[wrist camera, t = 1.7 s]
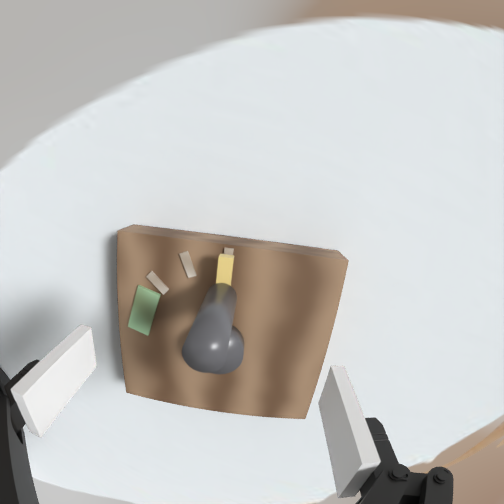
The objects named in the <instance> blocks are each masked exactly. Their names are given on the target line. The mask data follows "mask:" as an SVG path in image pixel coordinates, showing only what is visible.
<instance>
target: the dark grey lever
mask: <svg viewBox="0 0 504 504" xmlns="http://www.w3.org/2000/svg"><path fill="white" fill-rule="evenodd" d="M233 263H234V255H227V254H220V255H219V258H218V268H217V278H216V284H214V285H212V286H211V287H210V288H209V290H208V292H207V294H206V296H205V298H204V300H203V303H202V305H201V307H200V309H199V311H198V314H197V316H196V318H195V320H194V322H193V325H192V327H191V329H190V331H189V334H188V336H187V338H186V340H185V343H184V345H183V347H182V356H183V359H184V361H185V362H186V364H187V365H188V366H189V367H191V368H192V369H194V370H196V371H199V372H202V373H213V374H226V373H230V372H232V371H234V370H235V369H237V368H238V367H239V366H240V364H241V363H242V360H243V355H244V338H243V336H242V334H241V332H240V331H239V330H238V329H237V328H236V327H235V326H233V325H232V324H233V319H234V313H235V308H236V303H237V294H236V291H235V290H234V288H233V287H231V280H232V271H233Z"/></svg>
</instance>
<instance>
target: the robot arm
mask: <svg viewBox="0 0 504 504" xmlns="http://www.w3.org/2000/svg"><path fill="white" fill-rule="evenodd" d="M96 367H97V363H96V357H95V350H94V343H93V336H92V328H91V327H88V326H85V325H79V326H78V327H77V328H76V329H75V330H74V331H73V332H71V333H70V334H69V335H68V336H67V337H66V338H65V339H64V340H62V341H61V342H60V343H59V344H58V345H57V346H56V347H55V348H54V349H53V350H51V351H50V352H49V353H48V354H47V355H46V356H45V357H44V358H43V359H42V360H41V361H39V360H35V361H32V362H30V363H28V364H27V365H26V366H25V367H24V368H23V370H21V371H20V372H19V373H18V374H16V375H15V376H14V377H13V378H12V379H11V380H9V378H8V377H7V376H6V374H5V373H4V372H3V371H2V370H1V368H0V504H39V502H38V498H37V495H36V491H35V487H34V483H33V479H32V474H31V470H30V465H29V459H28V454H27V448H26V442H25V434H24V431H23V426H24V425H25V424H26V426H27V428H28V430H29V432H31V433H33V434H34V435H36V436H38V437H40V438H42V437H43V435H44V434H45V433H46V431H47V430H48V429H49V427H50V426H51V425H52V423H53V422H54V421H55V419H56V418H57V417H58V415H59V414H60V413H61V411H62V410H63V409H64V408H65V406H66V405H67V404H68V402H69V401H70V400H71V399H72V397H73V396H74V395H75V393H76V392H77V391H78V390H79V388H80V387H81V386H82V385H83V383H84V382H85V381H86V380H87V378H88V377H89V376H90V375H91V373H92V372H93V371H94V370H95V368H96ZM318 404H319V408H320V413H321V417H322V422H323V427H324V431H325V436H326V441H327V446H328V450H329V455H330V460H331V465H332V470H333V475H334V480H335V485H336V490H337V495H338V498H343V497H353V496H355V495H356V494H357V493H358V492H359V490H360V492H361V496H362V497H361V498H360V499H359V500H358V502H357V503H356V504H452V501H453V475H452V473H451V472H450V471H449V470H447V469H446V468H444V467H435V468H432V469H431V470H430V471H429V472H428V474H425V473H413V472H410V470H409V469H408V468H407V467H406V466H404V465H402V464H399V463H398V461H397V458H396V456H395V453H394V451H393V449H392V446H391V444H390V441H389V440H388V437H387V434H386V432H385V429H384V427H383V425H382V424H381V423H380V422H379V421H378V420H377V419H376V418H365V417H364V415H363V412H362V409H361V407H360V404H359V402H358V399H357V396H356V394H355V391H354V389H353V386H352V384H351V381H350V379H349V376H348V374H347V371H346V369H345V366H331V367H330V370H329V373H328V376H327V380H326V383H325V386H324V389H323V392H322V394H321V397H320V400H319V403H318Z"/></svg>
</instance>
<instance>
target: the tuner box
mask: <svg viewBox="0 0 504 504" xmlns="http://www.w3.org/2000/svg"><path fill="white" fill-rule="evenodd" d="M220 254H227V255H234V263H233V271H232V280H231V287H233V288H234V290H235V291H236V294H237V303H236V308H235V313H234V319H233V324H232V325H233V326H235V327H236V328H237V329H238V330H239V331H240V332H241V334H242V336H243V338H244V355H243V360H242V363H241V364H240V366H239V367H238V368H237V369H235V370H234V371H232V372H230V373H226V374H213V373H202V372H199V371H196V370H194V369H192V368H191V367H189V366H188V365H187V364H186V362H185V361H184V359H183V356H182V347H183V345H184V343H185V340H186V338H187V336H188V334H189V331H190V329H191V327H192V325H193V322H194V320H195V318H196V316H197V314H198V311H199V309H200V307H201V305H202V303H203V300H204V298H205V296H206V294H207V292H208V290H209V288H210V287H211V286H212V285H214V284H216V278H217V268H218V258H219V255H220ZM348 261H349V260H348V259H346V258H345V257H344V256H343V255H342V254H341V253H340V252H339V251H337V250H329V249H322V248H315V247H308V246H300V245H293V244H285V243H278V242H270V241H263V240H255V239H247V238H240V237H232V236H224V235H216V234H208V233H200V232H192V231H184V230H176V229H167V228H159V227H151V226H142V225H131V226H128V227H126V228H123V229H120V230H118V234H117V293H118V315H119V330H120V343H121V353H122V363H123V371H124V379H125V386H126V392H127V393H130V394H134V395H138V396H142V397H146V398H150V399H154V400H159V401H163V402H168V403H173V404H178V405H183V406H188V407H194V408H199V409H205V410H212V411H219V412H226V413H234V414H242V415H252V416H262V417H275V418H293V419H305V418H306V415H307V412H308V409H309V406H310V403H311V400H312V397H313V394H314V391H315V388H316V385H317V382H318V378H319V375H320V372H321V369H322V365H323V362H324V358H325V355H326V351H327V348H328V344H329V341H330V337H331V333H332V329H333V326H334V322H335V318H336V314H337V310H338V306H339V301H340V297H341V293H342V289H343V284H344V280H345V275H346V270H347V266H348Z"/></svg>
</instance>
